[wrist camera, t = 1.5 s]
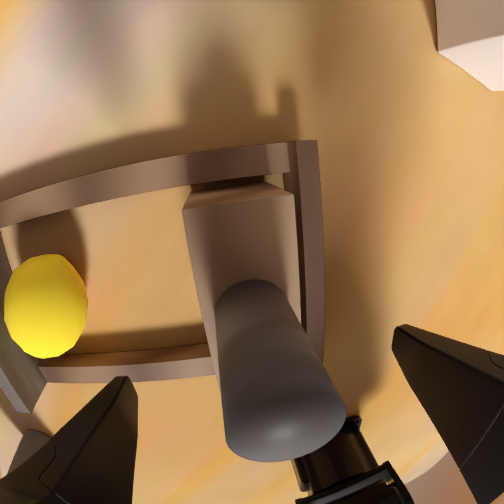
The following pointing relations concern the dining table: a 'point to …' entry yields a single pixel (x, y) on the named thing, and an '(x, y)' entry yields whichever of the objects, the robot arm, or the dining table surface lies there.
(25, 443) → the bottle
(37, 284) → the lemon
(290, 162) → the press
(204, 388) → the dining table surface
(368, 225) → the dining table surface
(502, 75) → the milk carton
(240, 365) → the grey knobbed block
